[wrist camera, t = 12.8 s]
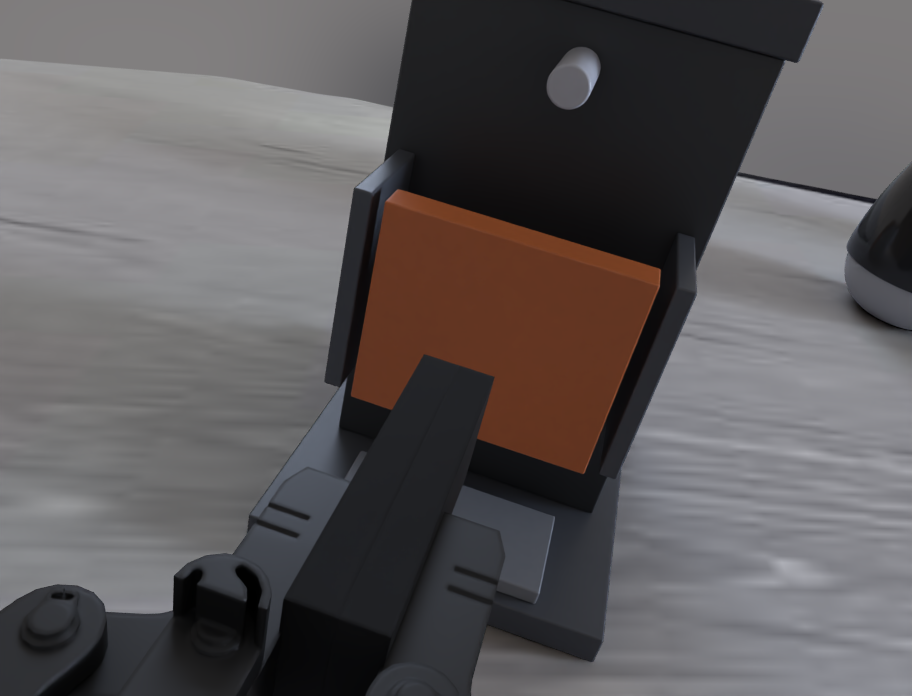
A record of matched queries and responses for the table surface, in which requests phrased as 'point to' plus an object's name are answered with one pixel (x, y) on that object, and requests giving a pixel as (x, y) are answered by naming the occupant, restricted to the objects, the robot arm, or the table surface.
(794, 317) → the table surface
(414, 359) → the push plate
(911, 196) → the pump dispenser
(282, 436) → the table surface
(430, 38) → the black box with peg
